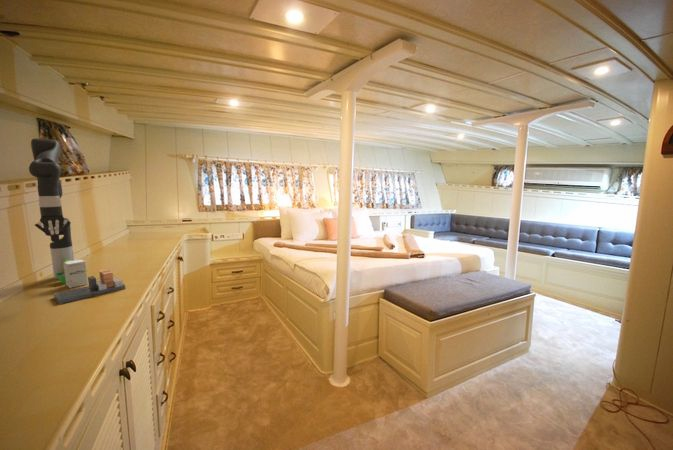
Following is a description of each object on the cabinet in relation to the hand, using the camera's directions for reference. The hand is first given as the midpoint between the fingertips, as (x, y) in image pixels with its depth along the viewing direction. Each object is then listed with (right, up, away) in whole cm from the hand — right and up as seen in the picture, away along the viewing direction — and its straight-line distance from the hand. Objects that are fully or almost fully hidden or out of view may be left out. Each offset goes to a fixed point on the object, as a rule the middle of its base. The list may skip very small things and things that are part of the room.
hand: (55, 242), depth 143 cm
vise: (+14, -25, +2) cm, 29 cm away
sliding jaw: (+16, -22, +4) cm, 28 cm away
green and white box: (-10, -22, +21) cm, 32 cm away
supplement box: (-2, -23, +14) cm, 27 cm away
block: (+19, -22, +8) cm, 30 cm away
